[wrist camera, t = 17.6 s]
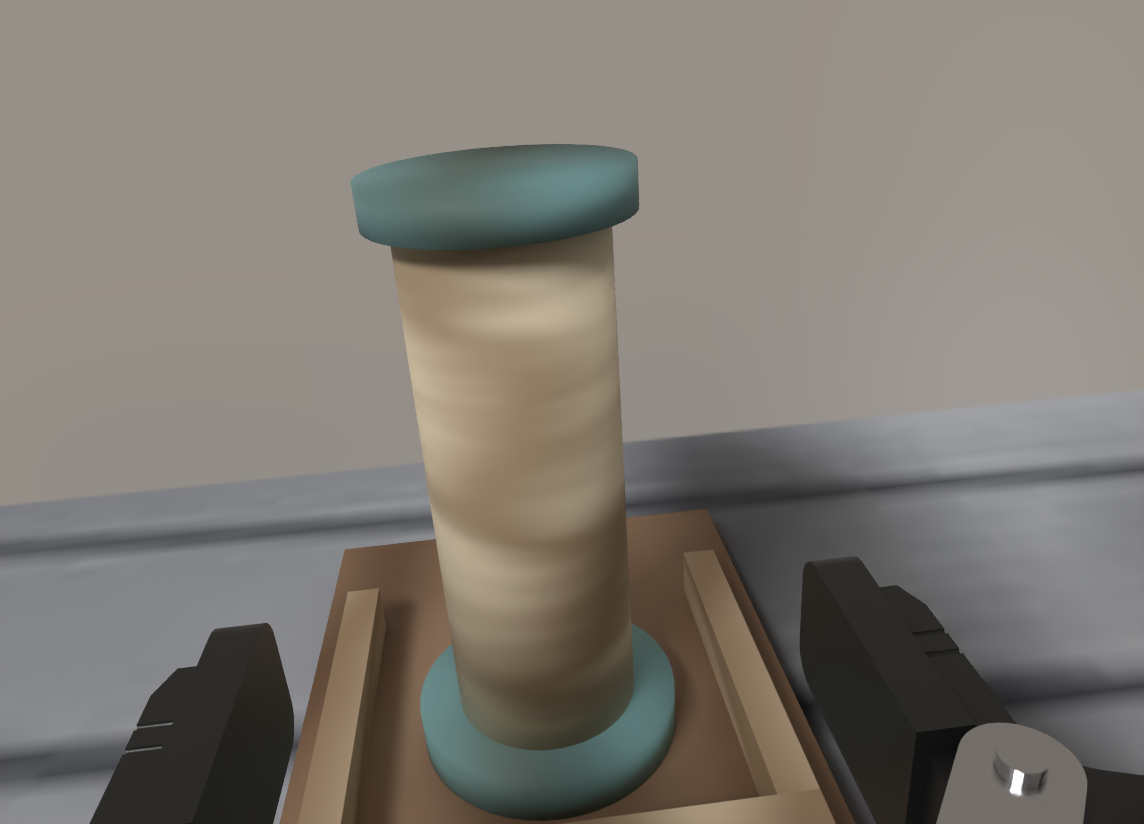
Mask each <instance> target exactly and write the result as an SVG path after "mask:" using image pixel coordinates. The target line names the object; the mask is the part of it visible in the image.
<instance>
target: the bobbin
mask: <svg viewBox="0 0 1144 824" xmlns="http://www.w3.org/2000/svg"><path fill="white" fill-rule="evenodd" d="M351 187H352V193H353V199H354V205H355V210H356V216H357V222H358V228H359V232H360V234H361V235H362V236H363V237H364V238H366V239H368V240H370V241H372V242H376V243H379V244H383V245H388V246H391V252H392V258H393V264H394V271H395V278H396V283H397V290H398V296H399V303H400V310H401V316H402V323H403V329H404V336H405V342H406V349H407V355H408V362H409V368H410V374H411V381H412V388H413V394H414V401H415V407H416V413H417V420H418V427H419V433H420V439H421V446H422V452H423V459H424V466H425V472H426V479H427V485H428V492H429V498H430V505H431V511H432V518H433V524H434V531H435V537H436V543H437V550H438V556H439V563H440V569H441V576H442V582H443V589H444V595H445V602H446V608H447V615H448V621H449V628H450V634H451V641H452V644H451V645H450V646H448V647H447V648H446V650H445V651H444V652H443V653H442V654H441V655H440V656H439V657H438V659H437V660H436V661H435V663H434V664H433V665H432V667H431V669H430V671H429V673H428V674H427V676H426V679H425V682H424V684H423V687H422V692H421V698H420V712H421V717H422V723H423V728H424V734H425V740H426V745H427V750H428V755H429V758H430V761H431V763H432V765H433V768H434V770H435V771H436V773H437V774H438V776H439V778H440V779H441V780H442V781H443V783H444V784H445V785H446V786H447V787H448V788H449V789H450V790H451V791H452V792H453V793H455V794H456V795H457V796H458V797H460V798H461V799H462V800H464V801H466V802H468V803H469V804H471V805H473V806H474V807H477V808H479V809H481V810H484V811H486V812H489V813H491V814H495V815H499V816H503V817H506V818H512V819H519V820H529V821H549V820H562V819H567V818H572V817H578V816H582V815H585V814H588V813H592V812H595V811H598V810H600V809H603V808H605V807H607V806H610V805H612V804H614V803H616V802H618V801H620V800H621V799H623V798H625V797H626V796H628V795H630V794H631V793H632V792H634V791H635V790H636V789H638V788H639V787H640V786H642V785H643V784H644V783H645V782H646V781H647V780H648V779H649V778H650V777H651V776H652V775H653V774H654V773H655V771H656V770H657V769H658V767H659V766H660V765H661V763H662V762H663V760H664V758H665V757H666V755H667V753H668V751H669V749H670V746H671V743H672V740H673V736H674V730H675V688H674V676H673V671H672V667H671V665H670V663H669V660H668V658H667V656H666V655H665V653H664V651H663V650H662V648H661V647H660V646H659V645H658V644H657V642H656V641H655V640H654V639H653V638H652V637H651V636H650V635H648V634H647V633H646V632H645V631H644V630H642V629H641V628H639V627H637V626H636V625H634V624H633V623H631V606H630V585H629V565H628V544H627V524H626V503H625V482H624V462H623V441H622V421H621V402H620V401H621V400H620V380H619V359H618V341H617V339H618V338H617V318H616V297H615V277H614V257H613V236H612V226H614V225H617V224H619V223H622V222H624V221H625V220H627V219H629V218H631V217H632V216H633V215H635V214H636V212H637V211H638V210H639V187H638V160H637V156H636V155H635V154H633V153H632V152H629V151H626V150H623V149H618V148H612V147H605V146H594V145H572V144H546V145H545V144H542V145H518V146H503V147H490V148H479V149H469V150H460V151H453V152H445V153H439V154H432V155H426V156H420V157H415V158H409V159H405V160H400V161H396V162H392V163H388V164H384V165H380V166H377V167H374V168H371V169H368V170H366V171H364V172H361V173H359V174H358V175H356V176H354V177H353V178H352V180H351Z"/></svg>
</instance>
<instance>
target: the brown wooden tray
mask: <svg viewBox="0 0 1144 824" xmlns="http://www.w3.org/2000/svg"><path fill="white" fill-rule="evenodd" d="M626 524H627V544H628V565H629V585H630V606H631V623H633V624H634V625H636V626H637V627H639V628H641V629H642V630H644V631H645V632H646V633H647V634H648V635H650V636H651V637H652V638H653V639H654V640H655V641H656V642H657V644H658V645H659V646H660V647H661V648H662V650H663V651H664V653H665V655H666V656H667V658H668V660H669V663H670V665H671V667H672V671H673V676H674V688H675V730H674V736H673V740H672V743H671V746H670V749H669V751H668V753H667V755H666V757H665V758H664V760H663V762H662V763H661V765H660V766H659V767H658V769H657V770H656V771H655V773H654V774H653V775H652V776H651V777H650V778H649V779H648V780H647V781H646V782H645V783H644V784H643V785H642V786H640V787H639V788H638V789H636V790H635V791H634V792H632V793H631V794H630V795H628V796H626V797H625V798H623V799H621V800H620V801H618V802H616V803H614V804H612V805H610V806H607V807H605V808H603V809H600V810H598V811H595V812H592V813H588V814H585V815H582V816H578V817H572V818H567V819H562V820H549V821H529V820H519V819H512V818H506V817H503V816H499V815H495V814H491V813H489V812H486V811H484V810H481V809H479V808H477V807H474V806H473V805H471V804H469V803H468V802H466V801H464V800H462V799H461V798H460V797H458V796H457V795H456V794H455V793H453V792H452V791H451V790H450V789H449V788H448V787H447V786H446V785H445V784H444V783H443V781H442V780H441V779H440V778H439V776H438V774H437V773H436V771H435V770H434V768H433V765H432V763H431V761H430V758H429V755H428V750H427V745H426V740H425V734H424V728H423V723H422V717H421V712H420V698H421V692H422V687H423V684H424V682H425V679H426V676H427V674H428V673H429V671H430V669H431V667H432V665H433V664H434V663H435V661H436V660H437V659H438V657H439V656H440V655H441V654H442V653H443V652H444V651H445V650H446V648H447V647H448V646H450V645H451V644H452V641H451V634H450V628H449V621H448V615H447V608H446V602H445V595H444V589H443V582H442V576H441V569H440V563H439V556H438V550H437V543H436V539H434V540H426V541H417V542H408V543H399V544H390V545H381V546H372V547H364V548H355V549H346V550H345V551H344V556H343V560H342V564H341V568H340V572H339V577H338V581H337V585H336V589H335V593H334V598H333V602H332V606H331V610H330V614H329V619H328V623H327V627H326V631H325V635H324V640H323V644H322V648H321V652H320V656H319V661H318V665H317V669H316V673H315V677H314V682H313V686H312V690H311V694H310V698H309V703H308V707H307V711H306V715H305V719H304V724H303V728H302V732H301V736H300V740H299V745H298V749H297V753H296V757H295V761H294V766H293V770H292V774H291V778H290V782H289V787H288V791H287V795H286V799H285V803H284V808H283V812H282V816H281V820H280V824H855V822H854V820H853V817H852V815H851V813H850V811H849V809H848V807H847V805H846V803H845V800H844V798H843V796H842V794H841V792H840V790H839V788H838V786H837V783H836V781H835V779H834V777H833V775H832V773H831V771H830V769H829V767H828V764H827V762H826V760H825V758H824V756H823V754H822V752H821V750H820V747H819V745H818V743H817V741H816V739H815V737H814V735H813V733H812V731H811V728H810V726H809V724H808V722H807V720H806V718H805V716H804V714H803V711H802V709H801V707H800V705H799V703H798V701H797V699H796V697H795V694H794V692H793V690H792V688H791V686H790V684H789V682H788V680H787V678H786V675H785V673H784V671H783V669H782V667H781V665H780V663H779V661H778V658H777V656H776V654H775V652H774V650H773V648H772V646H771V644H770V642H769V639H768V637H767V635H766V633H765V631H764V629H763V627H762V625H761V622H760V620H759V618H758V616H757V614H756V612H755V610H754V608H753V605H752V603H751V601H750V599H749V597H748V595H747V593H746V591H745V589H744V586H743V584H742V582H741V580H740V578H739V576H738V574H737V572H736V569H735V567H734V565H733V563H732V561H731V559H730V557H729V555H728V552H727V550H726V548H725V546H724V544H723V542H722V540H721V538H720V536H719V533H718V531H717V529H716V527H715V525H714V523H713V521H712V519H711V516H710V514H709V512H708V510H707V509H700V510H691V511H682V512H674V513H665V514H656V515H647V516H638V517H629V518H626Z"/></svg>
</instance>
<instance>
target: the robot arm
mask: <svg viewBox="0 0 1144 824" xmlns="http://www.w3.org/2000/svg"><path fill="white" fill-rule="evenodd" d="M800 655H801V661H802V666H803V671H804V674H805V678H806V680H807V683H808V685H809V688H810V690H811V692H812V694H813V696H814V698H815V700H816V702H817V704H818V706H819V708H820V710H821V712H822V714H823V716H824V718H825V720H826V722H827V724H828V726H829V728H830V730H831V732H832V734H833V736H834V738H835V740H836V743H837V745H838V747H839V749H840V751H841V753H842V755H843V757H844V759H845V761H846V763H847V765H848V767H849V769H850V771H851V773H852V775H853V777H854V779H855V781H856V783H857V785H858V787H859V789H860V791H861V793H862V795H863V797H864V799H865V801H866V803H867V805H868V808H869V810H870V812H871V814H872V816H873V818H874V820H875V822H876V824H1144V776H1143V775H1136V774H1128V773H1120V772H1112V771H1105V770H1099V769H1093V768H1088V767H1085V766H1082V765H1081V763H1080V762H1079V761H1078V759H1077V758H1076V757H1075V755H1074V754H1073V753H1072V752H1071V751H1070V750H1069V749H1068V748H1066V747H1065V746H1064V745H1062V744H1061V743H1060V742H1058V741H1057V740H1055V739H1054V738H1052V737H1050V736H1048V735H1046V734H1044V733H1042V732H1040V731H1038V730H1035V729H1032V728H1030V727H1026V726H1022V725H1018V724H1016V723H1015V722H1014V720H1013V719H1012V718H1011V716H1010V715H1009V714H1008V712H1007V711H1006V710H1005V708H1004V707H1003V706H1002V704H1001V703H1000V702H999V700H998V699H997V698H996V696H995V695H994V694H993V693H992V691H991V690H990V689H989V687H988V686H987V685H986V683H985V682H984V681H983V679H982V678H981V677H980V675H979V674H978V673H977V671H976V670H975V669H974V667H973V666H972V665H971V663H970V662H969V661H968V660H967V658H966V657H965V656H964V654H963V653H962V654H960V652H959V648H958V646H957V645H956V644H955V642H954V641H953V640H952V638H951V637H950V636H949V634H948V633H947V634H945V632H944V628H943V627H942V625H941V624H940V623H939V621H938V620H937V619H936V617H935V616H934V615H933V613H932V612H931V611H930V609H929V608H928V607H927V605H926V604H924V603H923V602H921V601H920V600H918V599H917V598H915V597H914V596H912V595H910V594H909V593H907V592H906V591H904V590H903V589H901V588H900V587H898V586H897V585H896V586H887V587H879V586H878V584H877V583H876V581H875V580H874V579H873V577H872V576H871V574H870V573H869V571H868V570H867V569H866V567H865V566H864V564H863V563H862V561H861V560H860V559H859V558H858V557H845V558H837V559H828V560H820V561H811V562H807V563H806V564H805V566H804V570H803V583H802V604H801V626H800ZM293 738H294V714H293V707H292V702H291V698H290V694H289V690H288V686H287V682H286V678H285V674H284V671H283V667H282V663H281V659H280V655H279V651H278V647H277V644H276V640H275V636H274V633H273V630H272V628H271V626H270V625H269V624H268V623H262V624H253V625H245V626H236V627H227V628H219V629H215V630H213V632H212V633H211V635H210V637H209V639H208V641H207V644H206V646H205V648H204V651H203V653H202V655H201V658H200V660H199V662H198V665H197V666H195V667H187V668H178V669H177V670H176V671H175V672H174V673H173V674H172V675H171V676H170V677H169V678H168V679H167V680H166V681H165V682H164V683H163V684H162V685H161V686H160V687H159V688H158V689H157V690H156V691H155V692H154V693H153V694H152V695H151V696H150V698H149V700H148V702H147V705H146V707H145V709H144V711H143V713H142V715H141V717H140V719H139V721H138V723H137V730H134V732H133V734H132V736H131V738H130V740H129V742H128V744H127V746H126V748H125V749H126V753H125V755H122V757H121V759H120V761H119V763H118V765H117V767H116V769H115V771H114V774H113V776H112V778H111V780H110V782H109V784H108V786H107V788H106V790H105V792H104V794H103V797H102V799H101V801H100V803H99V805H98V807H97V809H96V811H95V813H94V815H93V818H92V820H91V822H90V824H273V822H274V818H275V814H276V810H277V806H278V802H279V798H280V794H281V790H282V786H283V782H284V778H285V774H286V770H287V766H288V762H289V758H290V754H291V750H292V746H293Z"/></svg>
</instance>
